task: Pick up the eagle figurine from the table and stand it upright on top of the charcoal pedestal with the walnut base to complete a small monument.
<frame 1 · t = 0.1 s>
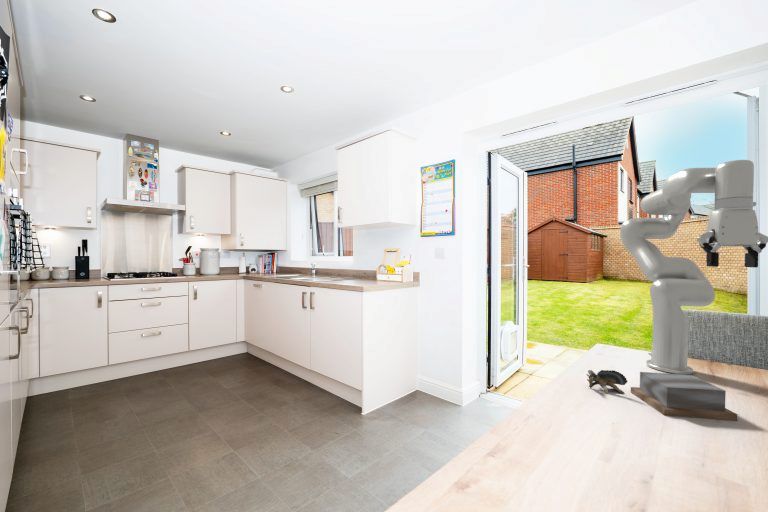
hand: (731, 266, 94), 37 cm above the table, tool pointing down, fingers open, 9 cm apart
eagle figurine: (605, 391, 98), on the table
pedestal: (679, 405, 89), on the table
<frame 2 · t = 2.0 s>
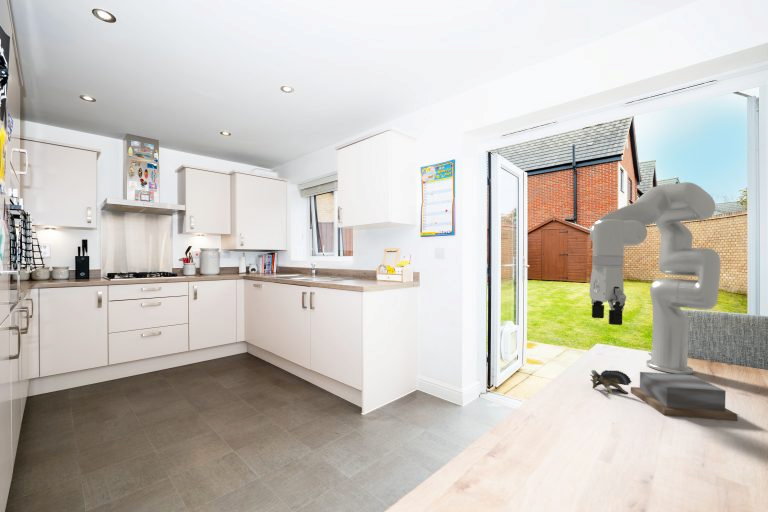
hand: (606, 321, 98), 20 cm above the table, tool pointing down, fingers open, 9 cm apart
eagle figurine: (609, 391, 98), on the table
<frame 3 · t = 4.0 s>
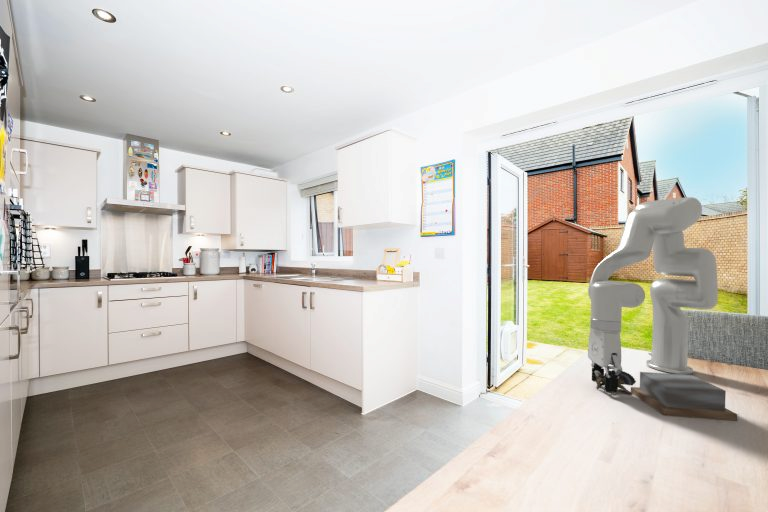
hand: (604, 385, 98), 1 cm above the table, tool pointing down, fingers closed on eagle figurine, 6 cm apart
eagle figurine: (613, 392, 97), on the table, touching gripper
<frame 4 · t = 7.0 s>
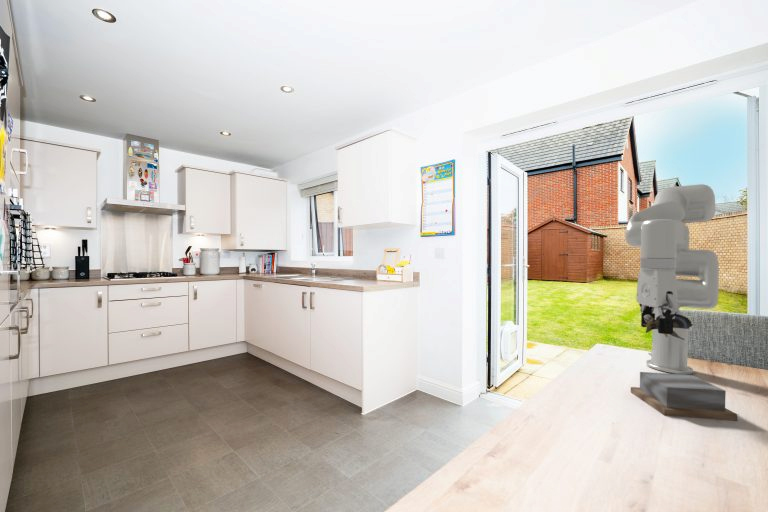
hand: (656, 329, 92), 19 cm above the table, tool pointing down, fingers closed on eagle figurine, 6 cm apart
eagle figurine: (663, 337, 91), point 18 cm above the table, touching gripper
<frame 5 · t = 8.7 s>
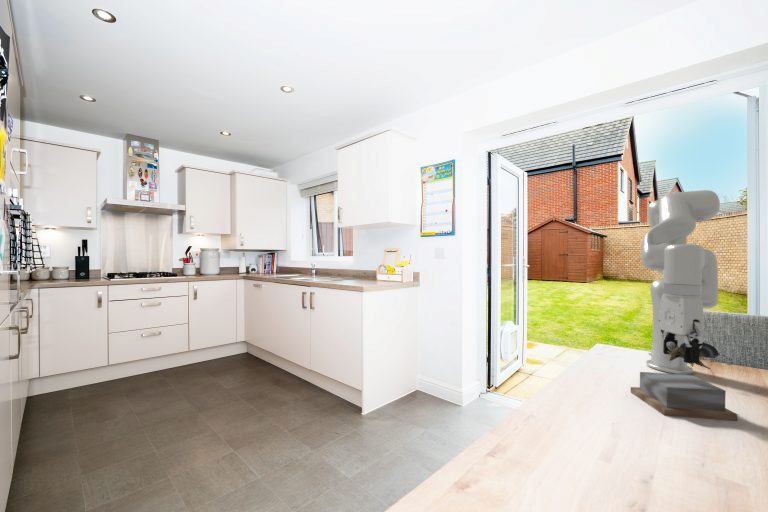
hand: (680, 357, 89), 13 cm above the table, tool pointing down, fingers closed on eagle figurine, 6 cm apart
eagle figurine: (688, 365, 88), point 11 cm above the table, touching gripper
when the fingers open (9 cm above the table, at t = 9.9 s): eagle figurine stays where it is, resting on pedestal.
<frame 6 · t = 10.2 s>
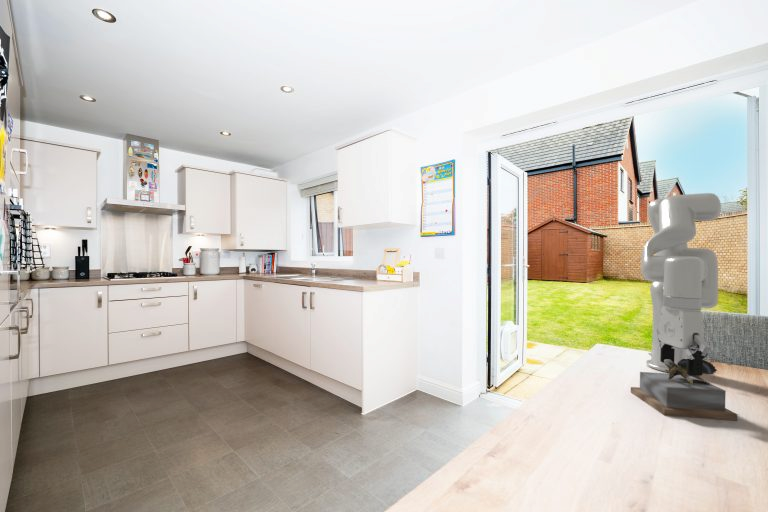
hand: (680, 368, 89), 10 cm above the table, tool pointing down, fingers open, 9 cm apart
eagle figurine: (687, 382, 88), point 6 cm above the table, touching pedestal
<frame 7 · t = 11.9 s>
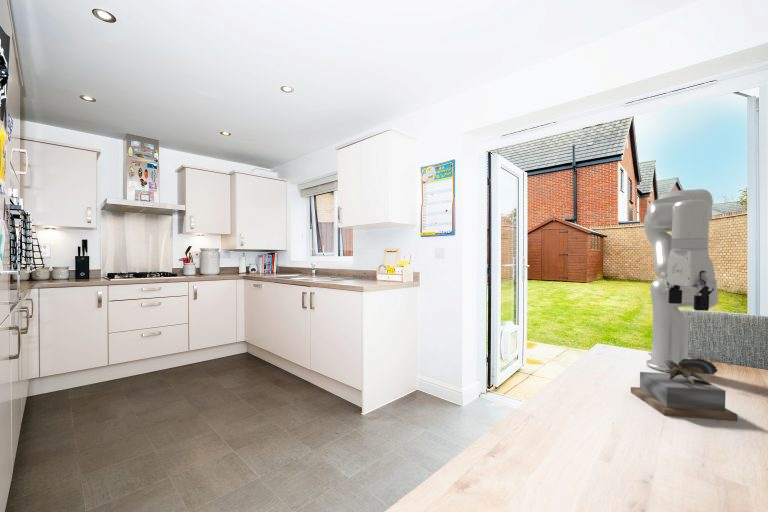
hand: (687, 306, 94), 25 cm above the table, tool pointing down, fingers open, 9 cm apart
nothing on the table moved.
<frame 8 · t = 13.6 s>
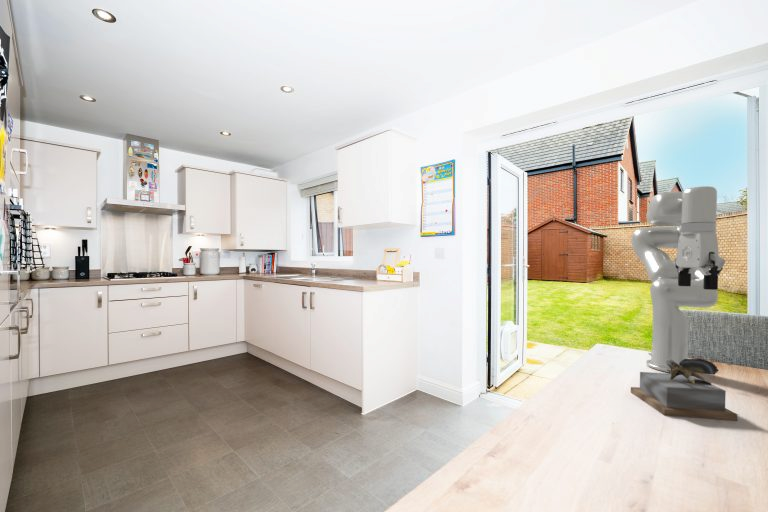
hand: (696, 287, 99), 30 cm above the table, tool pointing down, fingers open, 9 cm apart
nothing on the table moved.
at the end: eagle figurine inside the target area on the pedestal (2.1 cm from its centre), point 6.3 cm above the pedestal's base; eagle figurine tilted 0°; the gripper is holding nothing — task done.
